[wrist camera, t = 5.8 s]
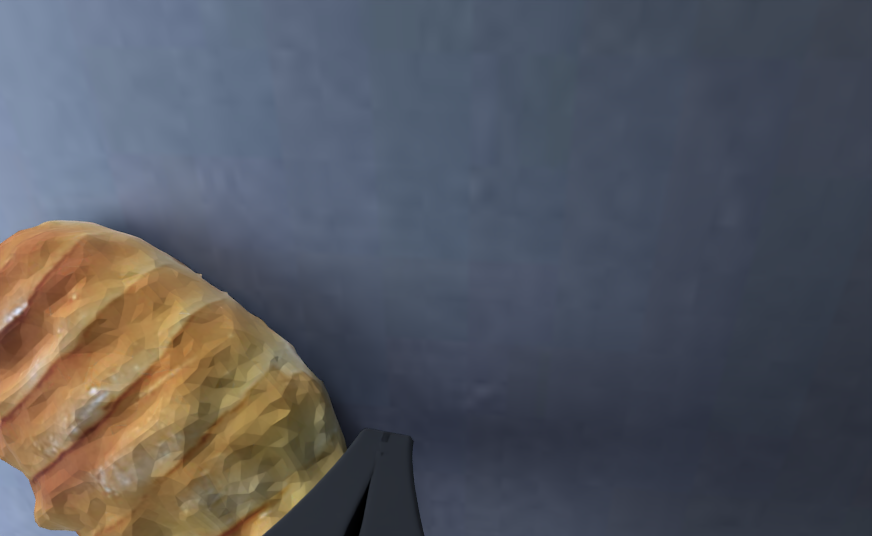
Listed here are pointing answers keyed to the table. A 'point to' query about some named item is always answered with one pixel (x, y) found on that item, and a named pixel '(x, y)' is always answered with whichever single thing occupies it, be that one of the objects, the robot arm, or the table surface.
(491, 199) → the table surface
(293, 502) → the pastry
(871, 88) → the table surface
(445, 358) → the table surface
